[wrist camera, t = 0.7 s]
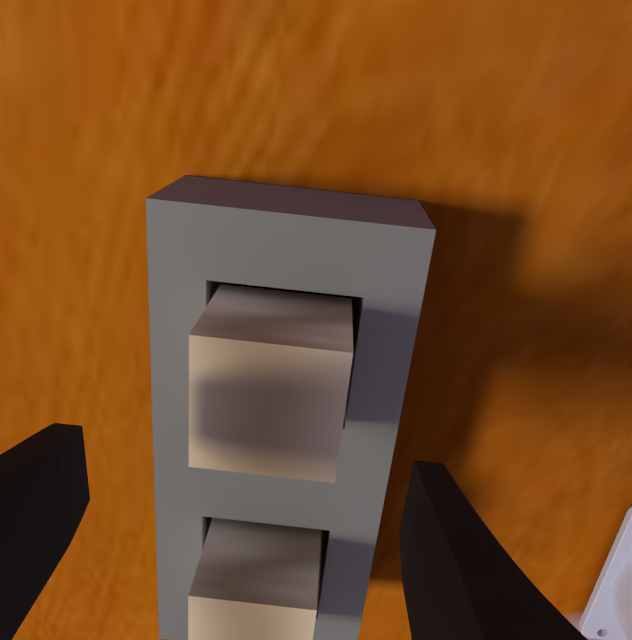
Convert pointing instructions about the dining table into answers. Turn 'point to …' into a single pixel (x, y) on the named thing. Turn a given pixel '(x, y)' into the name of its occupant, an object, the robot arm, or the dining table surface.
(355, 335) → the grey peg hole board
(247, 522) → the far peg
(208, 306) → the near peg
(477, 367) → the dining table surface
